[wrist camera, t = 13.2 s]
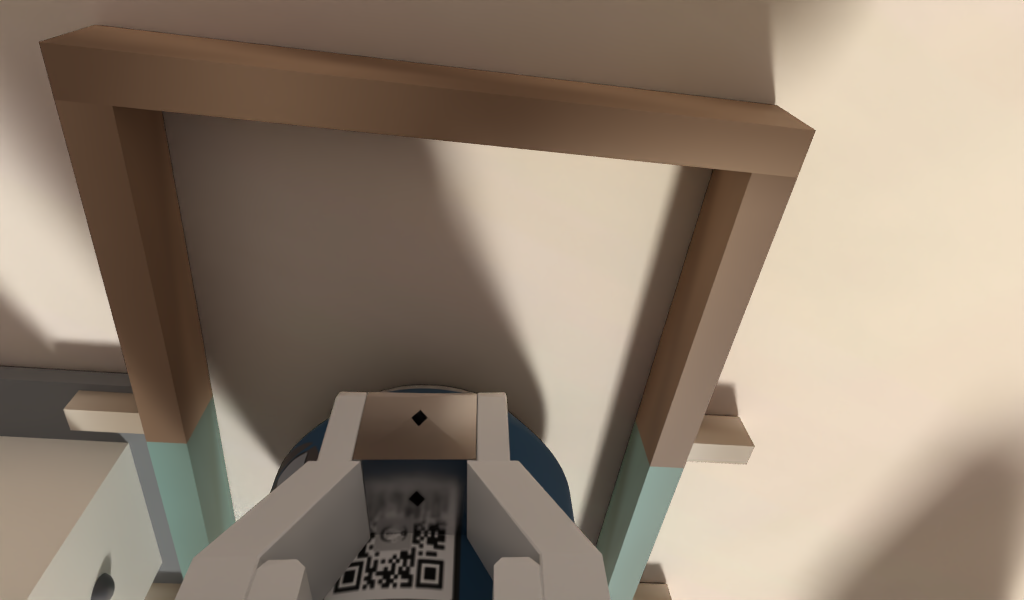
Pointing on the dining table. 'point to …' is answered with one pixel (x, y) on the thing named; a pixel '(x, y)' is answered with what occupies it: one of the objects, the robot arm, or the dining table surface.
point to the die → (73, 522)
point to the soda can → (429, 557)
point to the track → (420, 114)
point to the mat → (82, 434)
